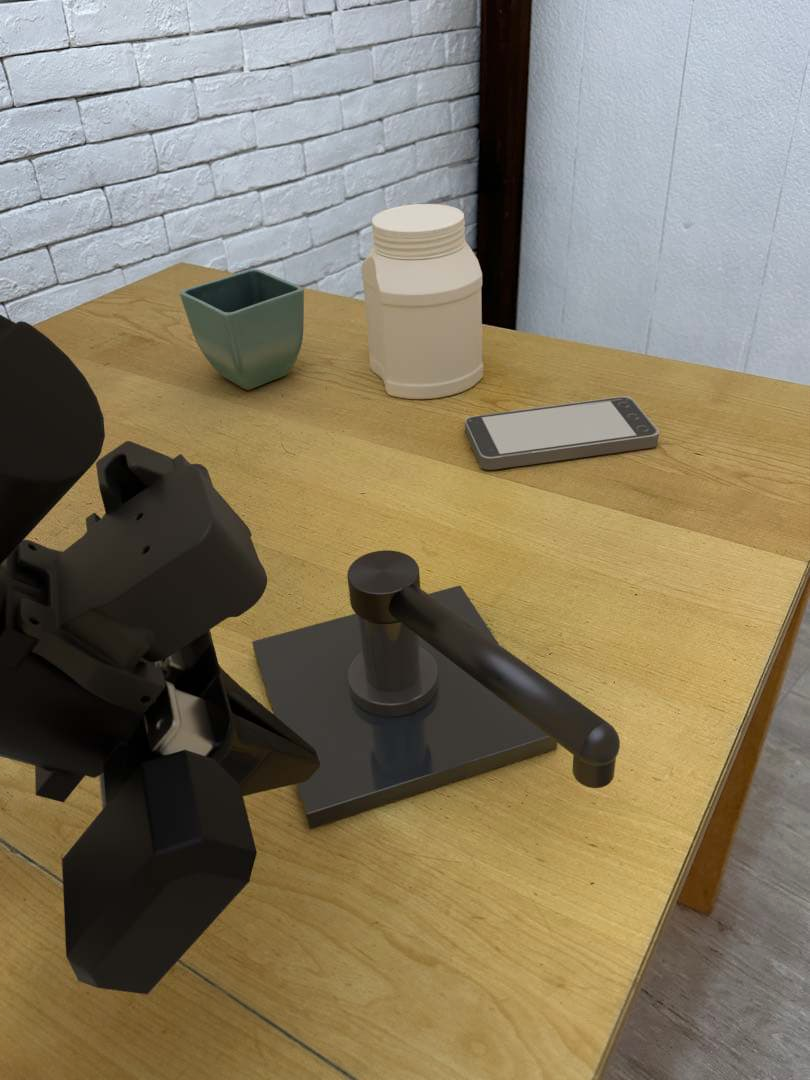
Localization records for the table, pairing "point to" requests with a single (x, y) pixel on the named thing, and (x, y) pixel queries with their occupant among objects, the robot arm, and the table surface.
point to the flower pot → (247, 325)
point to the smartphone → (559, 432)
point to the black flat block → (387, 711)
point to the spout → (483, 661)
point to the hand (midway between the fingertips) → (312, 766)
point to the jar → (423, 302)
